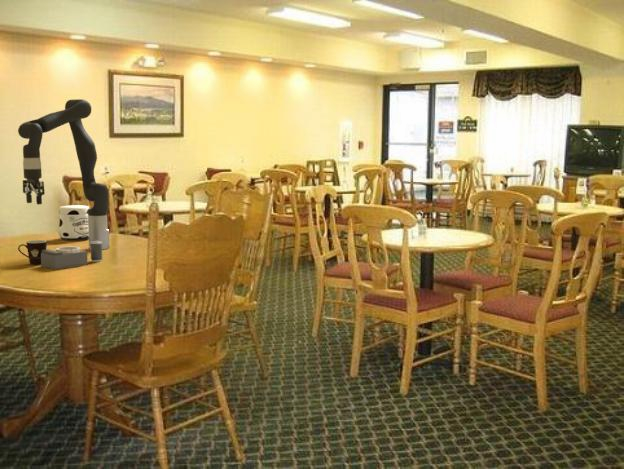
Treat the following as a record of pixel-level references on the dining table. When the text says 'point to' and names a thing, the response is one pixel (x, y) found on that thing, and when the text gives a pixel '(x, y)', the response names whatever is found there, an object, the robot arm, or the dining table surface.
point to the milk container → (73, 222)
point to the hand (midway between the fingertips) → (34, 203)
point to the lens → (96, 251)
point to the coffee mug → (34, 250)
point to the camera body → (63, 258)
